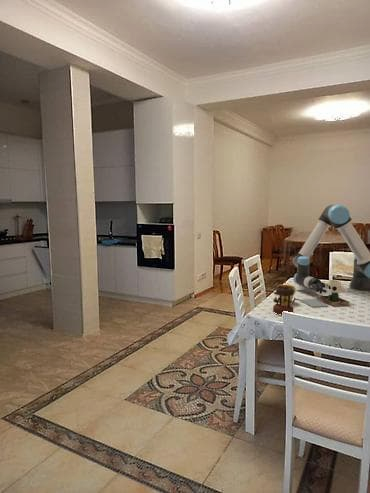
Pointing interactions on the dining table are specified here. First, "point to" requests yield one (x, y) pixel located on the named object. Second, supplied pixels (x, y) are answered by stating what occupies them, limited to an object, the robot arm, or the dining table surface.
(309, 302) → the slate coaster
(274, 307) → the music box
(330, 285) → the character mug
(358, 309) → the dining table surface
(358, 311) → the dining table surface
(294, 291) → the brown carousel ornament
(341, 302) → the brown rectangular slab
